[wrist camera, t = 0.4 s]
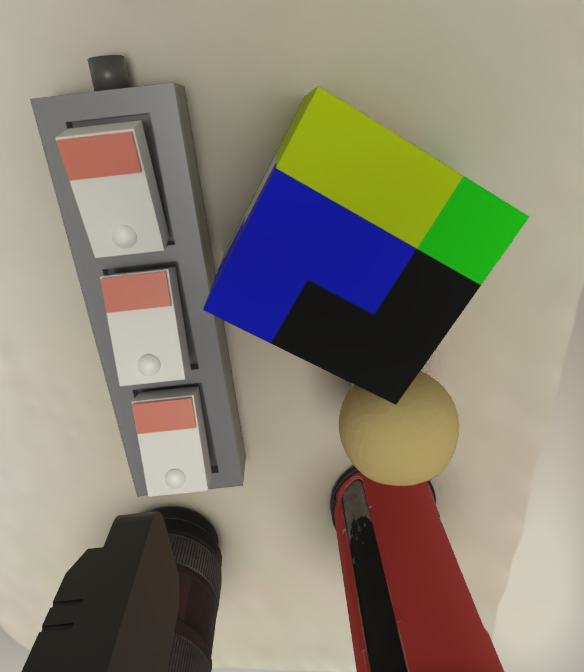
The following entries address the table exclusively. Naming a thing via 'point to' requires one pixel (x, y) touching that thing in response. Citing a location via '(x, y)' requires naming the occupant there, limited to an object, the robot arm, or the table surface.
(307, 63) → the table surface
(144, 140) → the rocker
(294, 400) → the table surface
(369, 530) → the speaker
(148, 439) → the rocker
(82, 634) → the robot arm
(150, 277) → the rocker
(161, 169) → the power strip
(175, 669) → the camera lens
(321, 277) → the puzzle toy
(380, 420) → the beige rounded piece
